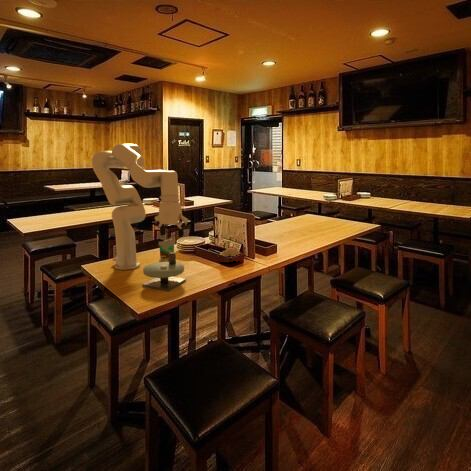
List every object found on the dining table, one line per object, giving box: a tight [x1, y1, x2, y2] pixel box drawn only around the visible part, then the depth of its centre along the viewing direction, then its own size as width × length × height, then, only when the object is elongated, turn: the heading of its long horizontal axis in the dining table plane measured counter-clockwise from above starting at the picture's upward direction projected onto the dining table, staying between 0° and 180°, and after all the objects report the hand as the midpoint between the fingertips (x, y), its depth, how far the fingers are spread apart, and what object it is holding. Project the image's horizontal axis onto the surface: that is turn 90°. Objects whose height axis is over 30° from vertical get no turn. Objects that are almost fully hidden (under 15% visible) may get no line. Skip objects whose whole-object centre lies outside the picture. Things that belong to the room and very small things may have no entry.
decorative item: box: [219, 247, 241, 256], centre depth 199 cm, size 12×9×10 cm
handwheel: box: [142, 251, 185, 279], centre depth 164 cm, size 18×18×6 cm
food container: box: [158, 236, 176, 259], centre depth 207 cm, size 12×6×10 cm, turn 159°
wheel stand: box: [141, 276, 187, 292], centre depth 166 cm, size 14×14×6 cm
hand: (171, 236), depth 167 cm, fingers open, 9 cm apart
